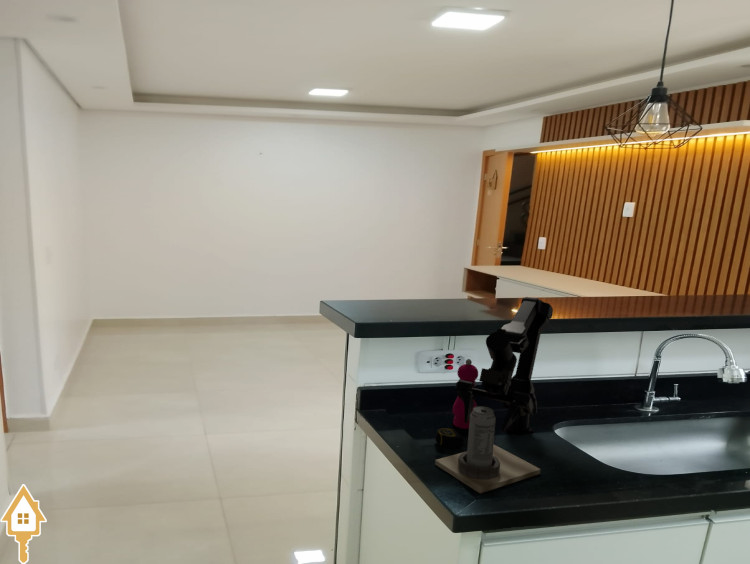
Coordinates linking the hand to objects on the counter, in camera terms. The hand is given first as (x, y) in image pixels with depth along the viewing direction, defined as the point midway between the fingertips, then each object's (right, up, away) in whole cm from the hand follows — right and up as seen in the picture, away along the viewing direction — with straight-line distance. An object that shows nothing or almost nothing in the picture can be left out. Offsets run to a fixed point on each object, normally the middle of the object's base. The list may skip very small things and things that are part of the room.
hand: (483, 427), depth 136 cm
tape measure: (-6, -9, +17) cm, 20 cm away
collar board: (+2, -11, +3) cm, 12 cm away
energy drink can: (-1, -10, 0) cm, 11 cm away
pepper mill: (0, -7, +31) cm, 32 cm away
